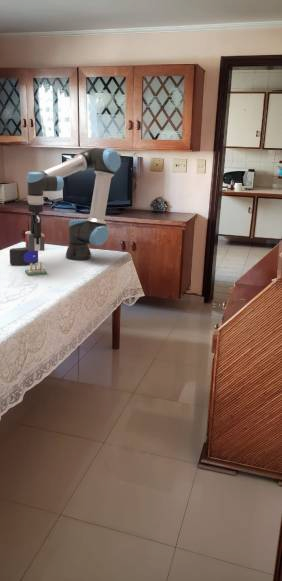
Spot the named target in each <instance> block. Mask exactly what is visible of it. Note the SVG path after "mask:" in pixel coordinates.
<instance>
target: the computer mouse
mask: <svg viewBox="0 0 282 581" xmlns="http://www.w3.org/2000/svg"><path fill="white" fill-rule="evenodd" d="M38 262H39V251H28V249H27V247H26V246H24V247H15V248H14V247H13V248H10V249H9V265H11V266H30V263H32V265H35V263H37V264H38Z"/></svg>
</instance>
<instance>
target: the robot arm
mask: <svg viewBox="0 0 282 581" xmlns="http://www.w3.org/2000/svg"><path fill="white" fill-rule="evenodd" d="M121 164H122V161H121V156H120V155H119V152H118V151H116V150H115V149H111V148H103V147H102V148H100V147H92V148H89V149H86V150H84V151H82V152H80V153H77V154H76V155H75V157H73V158H70V159H68V160H66V161H63V162H62V163H58V164H56V165H53V166H50V167H49V168H46V169H44V170H42V171H30V172H28V173H27V176H26V184H27V197H26V199H27V203H28V204H27V211H28V212H29V213H31V214H30V215H29V217H30V231H31V233H32V234H35V237H34V248H35V251H38V252H40V251H39V250H40V237H41V233H42V218H41V215H40V214H41V213H43V212H44V192H61V191H63V188H64V186H65V183H64V182H65V181H64V178H66V177H69V176H71V175H72V174H75V173H77V172H80V171H83V172H84V171H86V170H91V169H92V170H94V171H93V172H94V174H95V179H94V187H93V194H92V199H91V206H90V211H89V212H90V213H89V217H88V218H79V219H78V218H77V219H70V220H69V222H68V246H67V249H66V252H65V258H66V259H68V260H72V261H86V260H89V259H91V258H92V252H91V250H90V246H89V245H92V246H102V245H104V244H105V243H106V242H107V240H108V238H109V234H110V232H109V229H108V228H107V222H106V221H105V218H106V211H107V206H108V199H109V193H110V188H111V187H110V186H111V181H112V178H113V177H114V176H115V173H116V172H117V171H119V169H120V167H121Z"/></svg>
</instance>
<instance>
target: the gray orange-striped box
mask: <svg viewBox="0 0 282 581" xmlns="http://www.w3.org/2000/svg"><path fill="white" fill-rule="evenodd" d="M34 237H35V234H27V249H28V251H35V248H34ZM45 242H46V235H45V234H44V233H42V232H41V237H40V250H39V251H38V252H40V251H41V252H42V251H45Z"/></svg>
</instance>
